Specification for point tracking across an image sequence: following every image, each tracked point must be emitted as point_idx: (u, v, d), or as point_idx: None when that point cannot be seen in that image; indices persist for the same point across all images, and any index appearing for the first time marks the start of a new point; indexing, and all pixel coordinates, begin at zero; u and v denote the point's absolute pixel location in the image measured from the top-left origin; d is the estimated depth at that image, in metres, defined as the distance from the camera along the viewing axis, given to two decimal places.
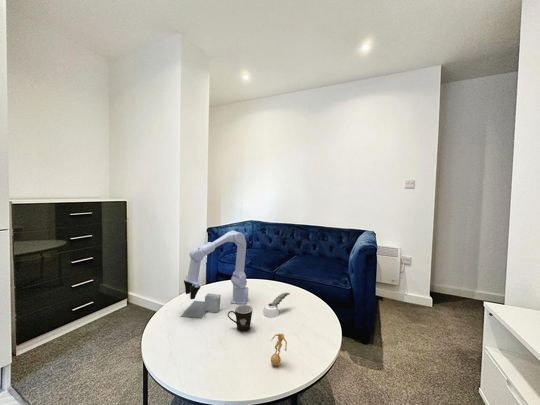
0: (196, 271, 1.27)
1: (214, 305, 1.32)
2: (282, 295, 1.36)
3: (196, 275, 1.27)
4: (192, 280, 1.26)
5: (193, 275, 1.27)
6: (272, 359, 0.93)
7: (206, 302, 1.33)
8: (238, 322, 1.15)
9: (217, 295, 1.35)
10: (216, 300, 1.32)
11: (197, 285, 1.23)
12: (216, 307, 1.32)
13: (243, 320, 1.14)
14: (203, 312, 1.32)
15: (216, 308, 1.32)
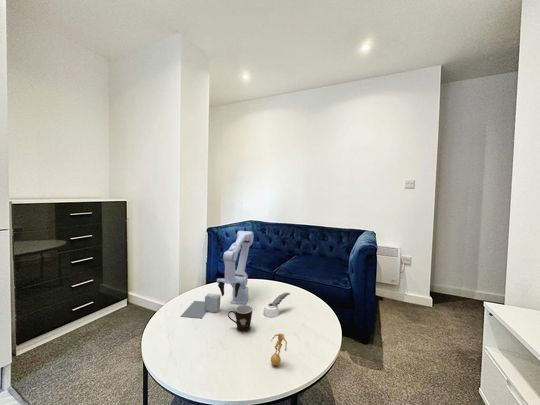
0: (234, 271, 1.32)
1: (214, 305, 1.32)
2: (282, 295, 1.36)
3: (234, 274, 1.33)
4: (233, 280, 1.31)
5: (233, 275, 1.31)
6: (272, 359, 0.93)
7: (206, 302, 1.33)
8: (238, 322, 1.15)
9: (217, 295, 1.35)
10: (216, 300, 1.32)
11: (242, 282, 1.32)
12: (216, 307, 1.32)
13: (243, 320, 1.14)
14: (203, 312, 1.32)
15: (216, 308, 1.32)
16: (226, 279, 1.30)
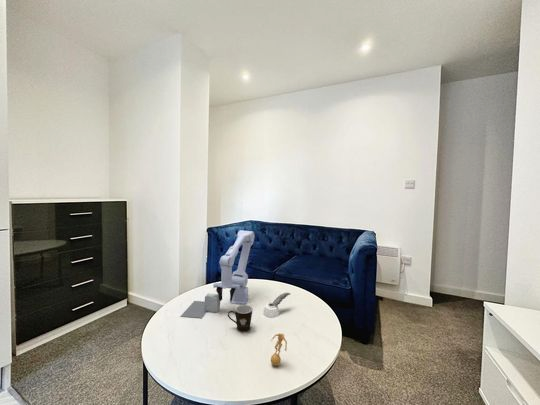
0: (231, 276, 1.32)
1: (214, 304, 1.32)
2: (282, 295, 1.36)
3: (231, 279, 1.33)
4: (230, 285, 1.32)
5: (230, 280, 1.32)
6: (272, 359, 0.93)
7: (206, 302, 1.33)
8: (238, 322, 1.15)
9: (217, 295, 1.35)
10: (216, 300, 1.32)
11: (238, 286, 1.33)
12: (216, 307, 1.32)
13: (243, 320, 1.14)
14: (203, 312, 1.32)
15: (216, 308, 1.32)
16: (223, 284, 1.31)
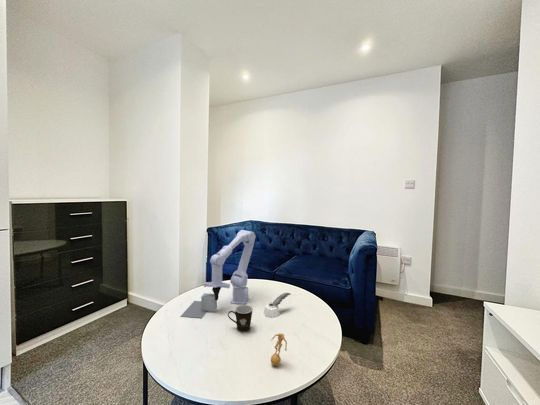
0: (220, 275, 1.32)
1: (211, 304, 1.32)
2: (282, 295, 1.36)
3: None
4: (220, 284, 1.32)
5: (221, 279, 1.32)
6: (272, 359, 0.93)
7: (203, 302, 1.33)
8: (238, 322, 1.15)
9: (213, 294, 1.35)
10: (212, 299, 1.32)
11: (229, 285, 1.33)
12: (213, 306, 1.32)
13: (243, 320, 1.14)
14: (203, 312, 1.32)
15: (213, 307, 1.32)
16: (213, 283, 1.31)
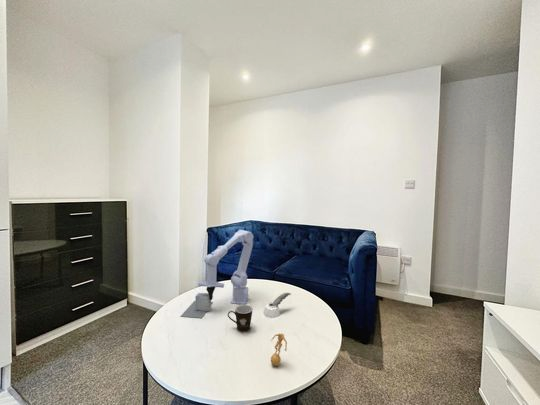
0: (214, 275, 1.32)
1: (205, 303, 1.33)
2: (282, 295, 1.36)
3: None
4: (215, 283, 1.33)
5: (215, 279, 1.33)
6: (272, 359, 0.93)
7: (197, 301, 1.33)
8: (238, 322, 1.15)
9: (207, 294, 1.35)
10: (207, 299, 1.33)
11: (223, 285, 1.34)
12: (207, 306, 1.33)
13: (243, 320, 1.14)
14: (203, 312, 1.32)
15: (207, 307, 1.33)
16: (207, 282, 1.32)
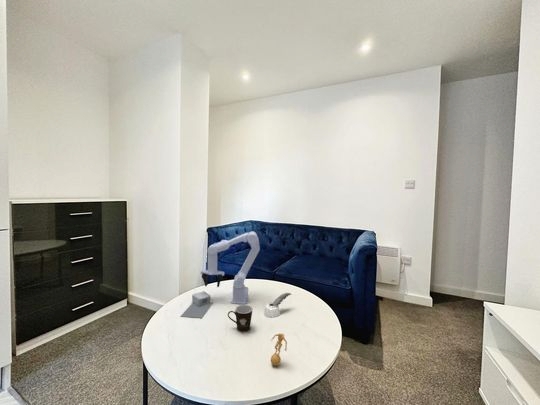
0: (212, 264, 1.42)
1: (204, 294, 1.45)
2: (283, 295, 1.36)
3: None
4: (216, 271, 1.44)
5: (216, 267, 1.44)
6: (272, 359, 0.93)
7: (196, 295, 1.42)
8: (238, 322, 1.15)
9: None
10: (203, 292, 1.48)
11: (223, 273, 1.45)
12: (207, 294, 1.45)
13: (243, 320, 1.14)
14: (203, 312, 1.32)
15: (207, 294, 1.45)
16: (209, 271, 1.43)
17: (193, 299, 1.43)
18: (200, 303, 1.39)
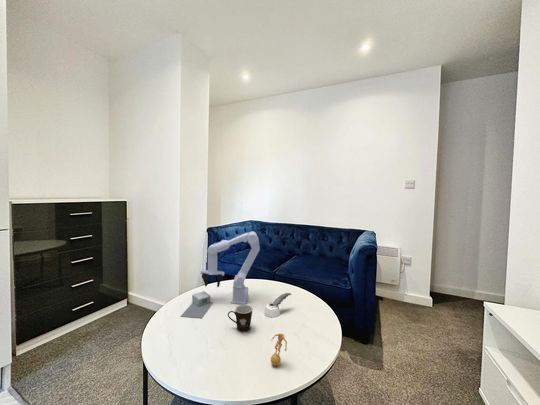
0: (212, 264, 1.42)
1: (204, 294, 1.45)
2: (283, 295, 1.36)
3: None
4: (216, 271, 1.44)
5: (216, 267, 1.44)
6: (272, 359, 0.93)
7: (196, 295, 1.42)
8: (238, 322, 1.15)
9: None
10: (203, 292, 1.48)
11: (223, 273, 1.45)
12: (207, 294, 1.45)
13: (243, 320, 1.14)
14: (203, 312, 1.32)
15: (207, 294, 1.45)
16: (209, 271, 1.43)
17: (193, 299, 1.43)
18: (200, 303, 1.39)
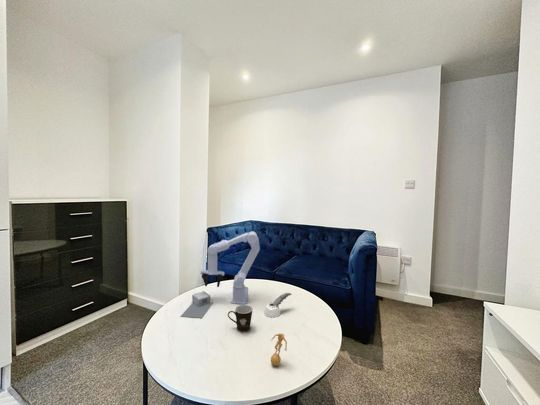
0: (212, 264, 1.42)
1: (204, 294, 1.45)
2: (283, 295, 1.36)
3: None
4: (216, 271, 1.44)
5: (216, 267, 1.44)
6: (272, 359, 0.93)
7: (196, 295, 1.42)
8: (238, 322, 1.15)
9: None
10: (203, 292, 1.48)
11: (223, 273, 1.45)
12: (207, 294, 1.45)
13: (243, 320, 1.14)
14: (203, 312, 1.32)
15: (207, 294, 1.45)
16: (209, 271, 1.43)
17: (193, 299, 1.43)
18: (200, 303, 1.39)
